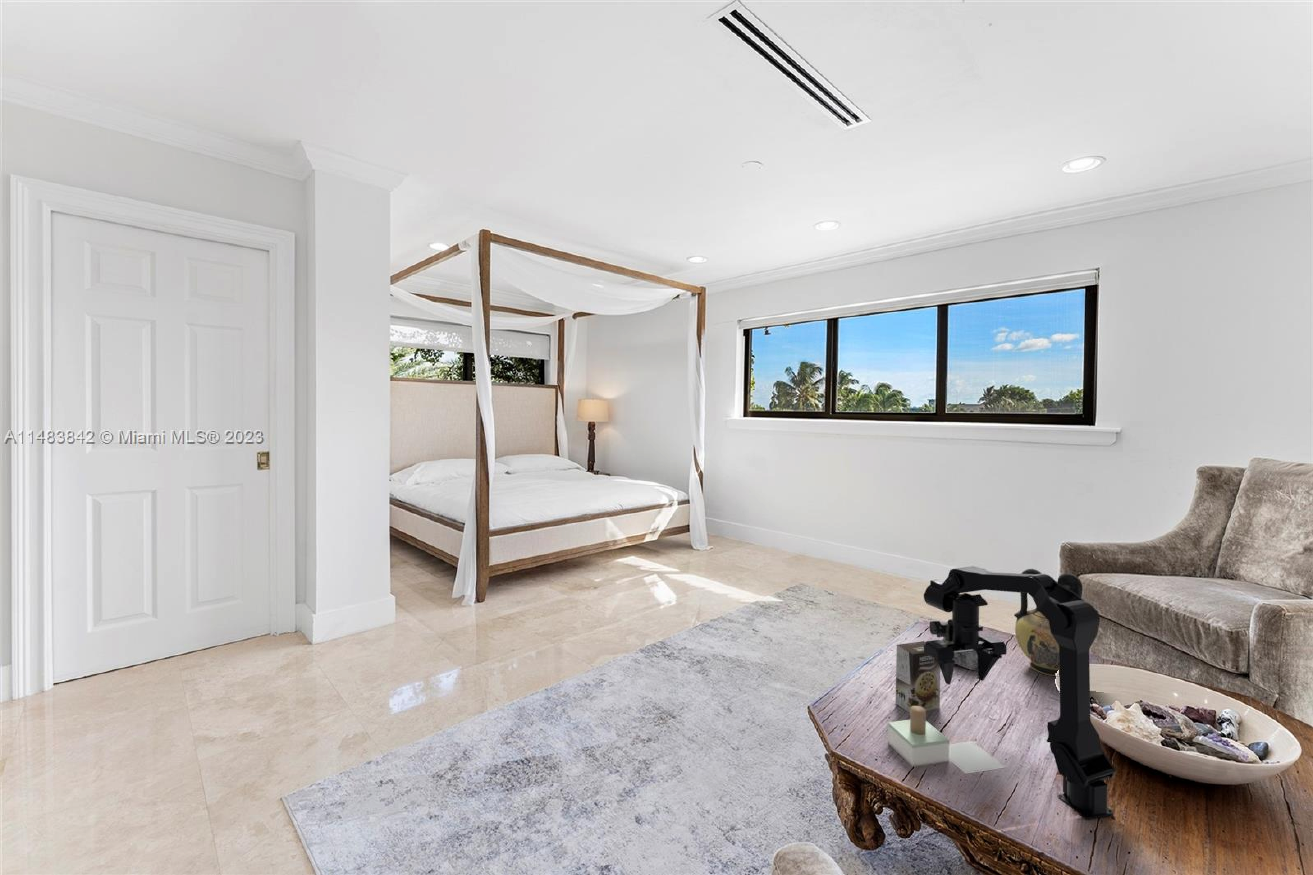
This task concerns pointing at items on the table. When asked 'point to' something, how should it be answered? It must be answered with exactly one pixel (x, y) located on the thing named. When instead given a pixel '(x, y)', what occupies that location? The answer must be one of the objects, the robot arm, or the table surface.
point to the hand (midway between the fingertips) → (964, 682)
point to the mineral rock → (965, 657)
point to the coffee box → (917, 677)
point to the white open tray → (918, 751)
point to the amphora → (1041, 629)
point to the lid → (918, 730)
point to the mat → (972, 758)
